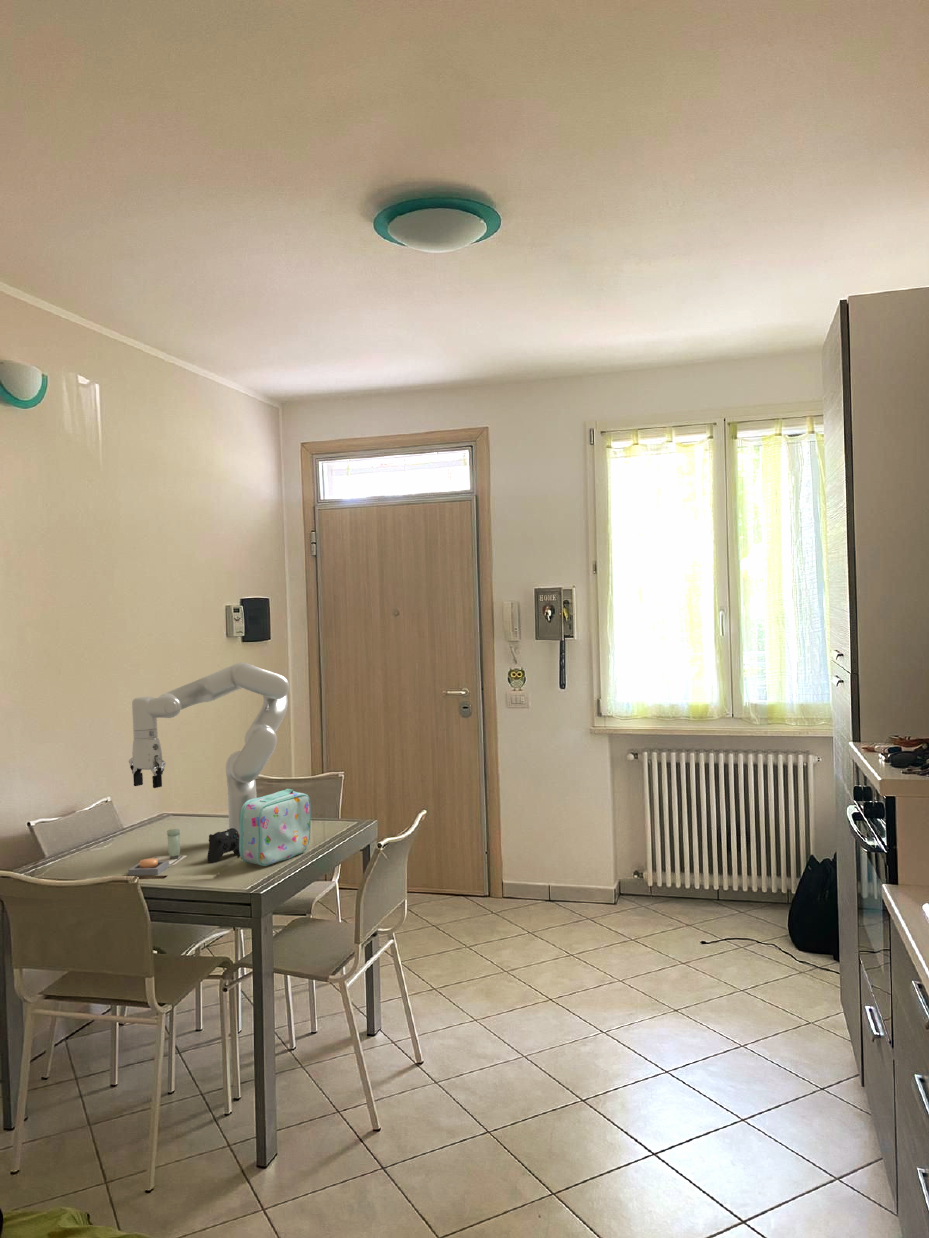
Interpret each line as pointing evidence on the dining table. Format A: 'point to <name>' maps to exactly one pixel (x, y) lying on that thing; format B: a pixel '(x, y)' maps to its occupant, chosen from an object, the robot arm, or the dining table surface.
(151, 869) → the button housing
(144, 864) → the button
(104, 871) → the dining table surface
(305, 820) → the lunch box
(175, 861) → the drawing board
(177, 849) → the pale green cylinder
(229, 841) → the gaming controller
